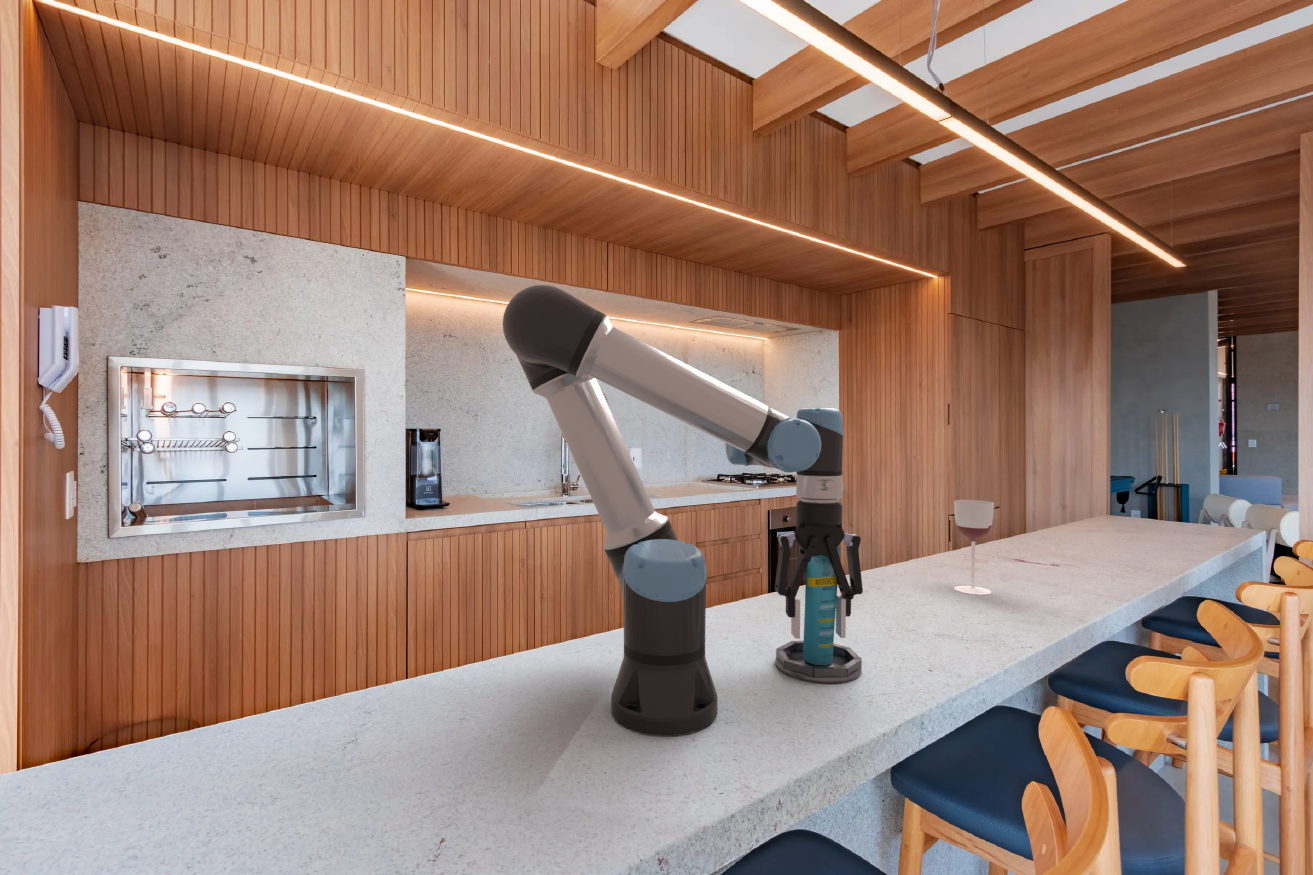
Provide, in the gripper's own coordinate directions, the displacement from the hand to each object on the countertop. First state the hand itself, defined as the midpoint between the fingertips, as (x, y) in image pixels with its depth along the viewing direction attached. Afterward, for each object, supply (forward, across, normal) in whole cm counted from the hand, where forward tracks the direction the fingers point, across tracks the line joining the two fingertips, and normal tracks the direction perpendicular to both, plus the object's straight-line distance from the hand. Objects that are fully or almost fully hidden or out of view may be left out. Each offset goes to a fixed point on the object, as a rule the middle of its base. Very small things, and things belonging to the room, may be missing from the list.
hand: (818, 635), depth 105 cm
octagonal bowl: (+5, 0, 0) cm, 5 cm away
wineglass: (+6, +54, +47) cm, 72 cm away
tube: (+5, 0, 0) cm, 5 cm away
